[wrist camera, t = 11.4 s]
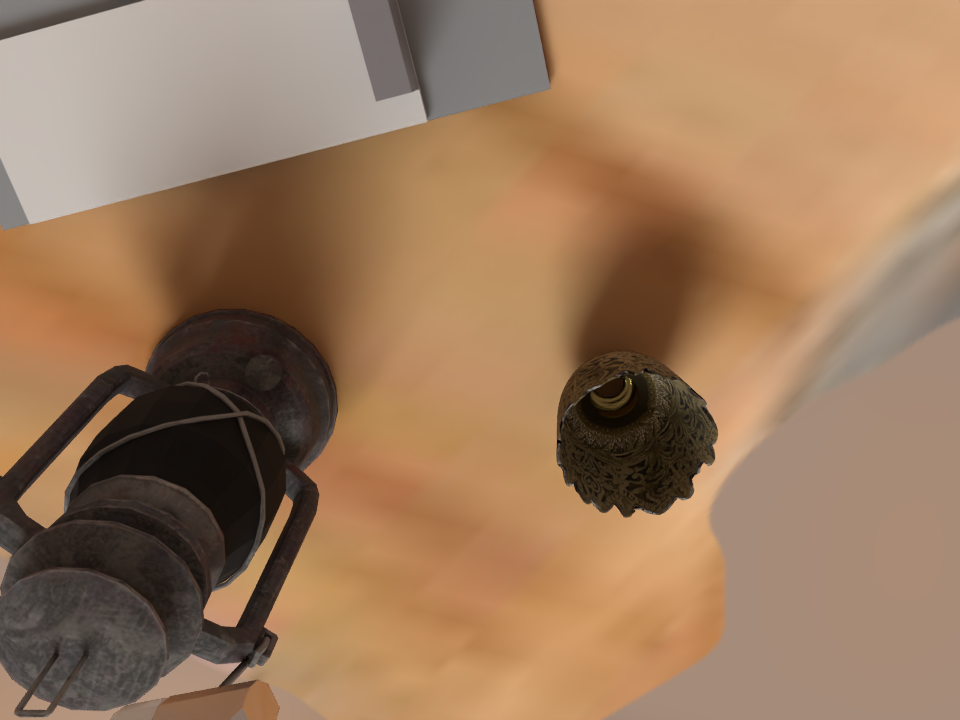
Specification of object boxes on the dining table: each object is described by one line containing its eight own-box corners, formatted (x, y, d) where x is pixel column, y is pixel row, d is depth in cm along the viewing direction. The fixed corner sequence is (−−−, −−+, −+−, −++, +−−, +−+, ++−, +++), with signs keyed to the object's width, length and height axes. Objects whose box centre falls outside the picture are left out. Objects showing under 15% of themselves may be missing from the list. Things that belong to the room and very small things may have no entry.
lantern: (388, 391, 44) (248, 966, 16) (286, 524, 47) (14, 1210, 19) (192, 259, 41) (-396, 673, 13) (96, 409, 44) (-556, 1011, 16)
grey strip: (381, -62, 35) (365, -86, 30) (428, 120, 38) (421, 129, 32) (-36, 53, 37) (-124, 51, 31) (38, 221, 39) (-31, 246, 34)
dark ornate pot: (586, 296, 42) (612, 346, 35) (701, 357, 44) (749, 417, 36) (518, 409, 44) (528, 479, 37) (629, 464, 46) (660, 542, 38)
